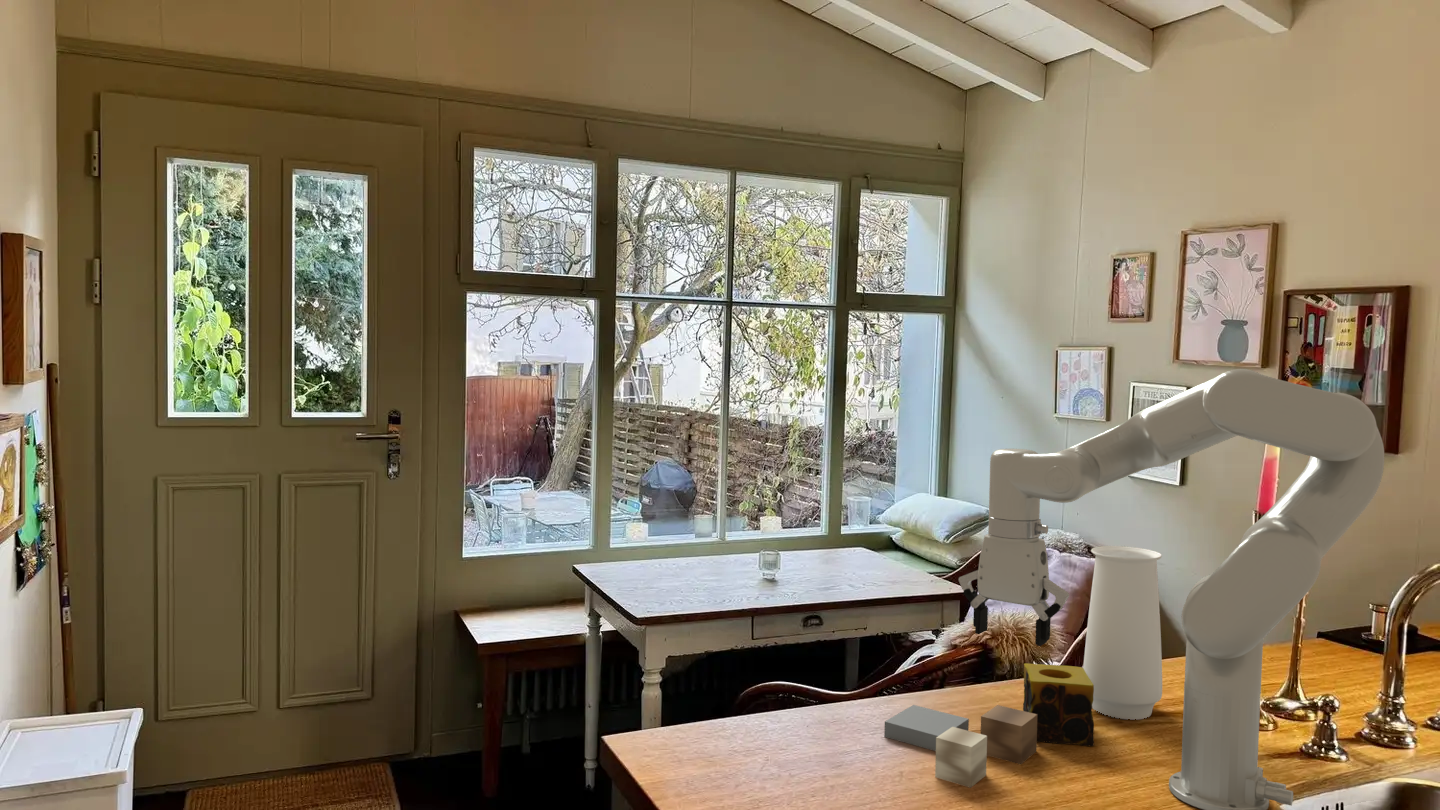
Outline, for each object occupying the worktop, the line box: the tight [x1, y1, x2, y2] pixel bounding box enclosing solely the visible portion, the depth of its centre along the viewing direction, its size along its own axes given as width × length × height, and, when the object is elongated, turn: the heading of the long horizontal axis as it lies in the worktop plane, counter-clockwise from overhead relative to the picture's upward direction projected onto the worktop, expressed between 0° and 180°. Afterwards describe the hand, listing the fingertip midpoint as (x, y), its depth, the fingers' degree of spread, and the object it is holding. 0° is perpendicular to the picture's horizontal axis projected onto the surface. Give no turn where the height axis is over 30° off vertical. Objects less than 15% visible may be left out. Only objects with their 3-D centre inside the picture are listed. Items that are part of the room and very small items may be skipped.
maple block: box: [934, 727, 988, 788], centre depth 144 cm, size 6×6×6 cm
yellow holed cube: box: [1022, 662, 1095, 747], centre depth 161 cm, size 10×10×10 cm
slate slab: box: [883, 704, 970, 752], centre depth 159 cm, size 10×10×2 cm
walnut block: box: [980, 704, 1038, 765], centre depth 153 cm, size 6×6×6 cm
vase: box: [1082, 545, 1163, 721], centre depth 172 cm, size 13×13×28 cm
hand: (1010, 637), depth 152 cm, fingers open, 9 cm apart
